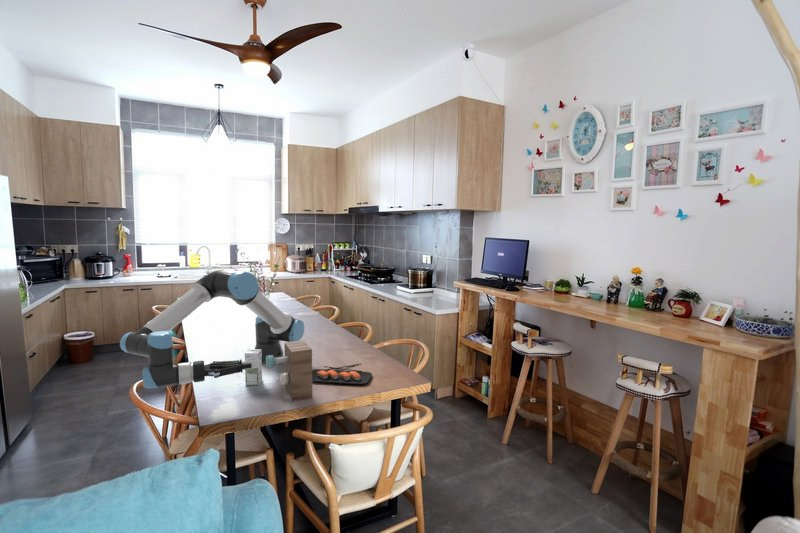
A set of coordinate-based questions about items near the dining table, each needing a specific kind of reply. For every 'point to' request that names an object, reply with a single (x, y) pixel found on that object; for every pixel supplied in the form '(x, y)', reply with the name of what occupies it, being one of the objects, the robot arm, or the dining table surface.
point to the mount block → (298, 370)
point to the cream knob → (284, 378)
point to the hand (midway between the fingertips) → (260, 363)
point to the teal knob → (275, 360)
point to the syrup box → (253, 374)
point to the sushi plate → (340, 376)
